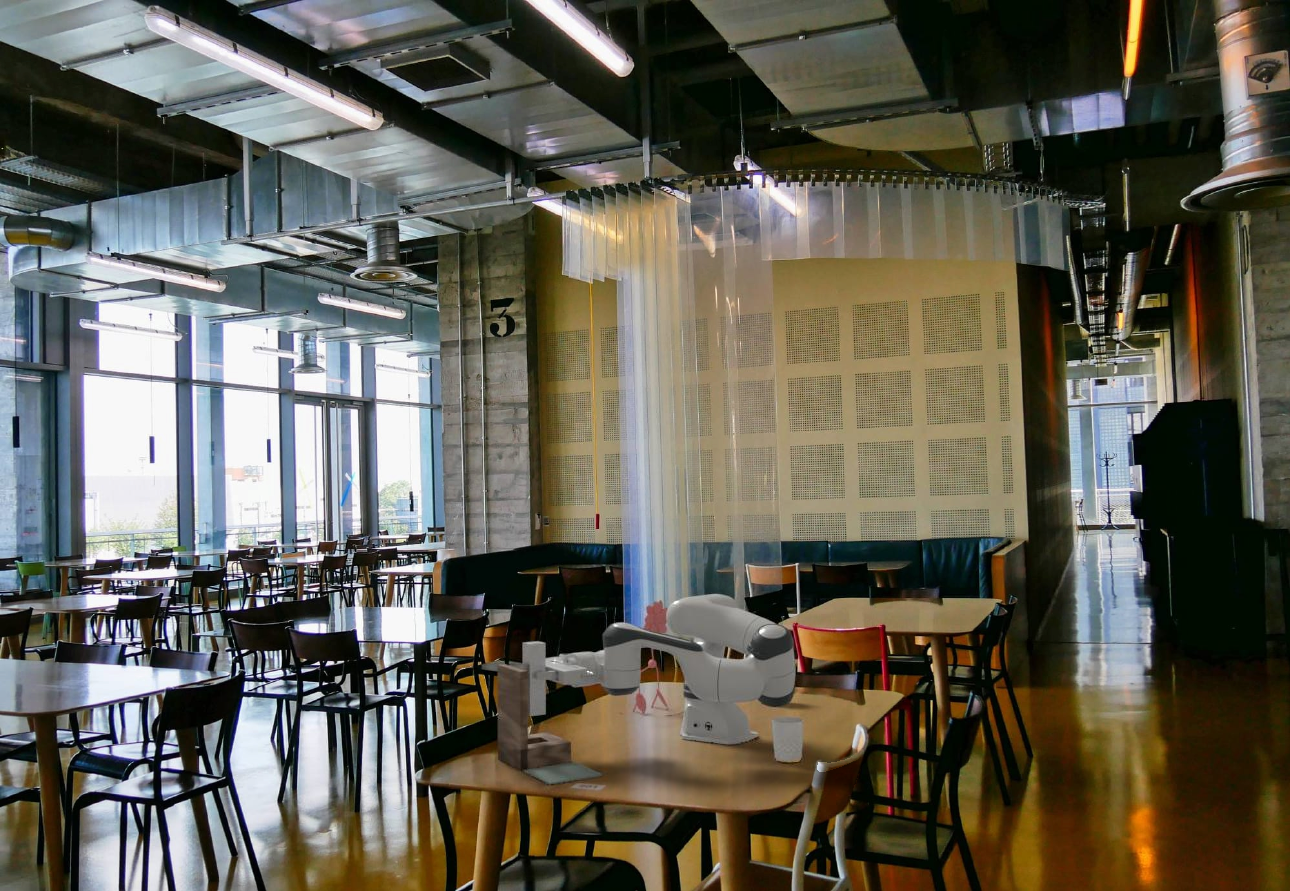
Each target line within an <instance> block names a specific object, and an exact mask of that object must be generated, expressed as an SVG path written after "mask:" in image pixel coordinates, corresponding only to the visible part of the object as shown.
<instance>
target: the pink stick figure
mask: <svg viewBox="0 0 1290 891" xmlns="http://www.w3.org/2000/svg"><path fill="white" fill-rule="evenodd" d="M645 609H646V614H647V615H646V616H645V617H644V626H643V629H647V630H651V631H655V632H659V633H663V634H667V632H668V631H667V630H668V628H667V626H666V624H667V621H666V613H667V609H668V607H664V603H663V600H661V599H659V601H655V600H654V602H653V605H651V604H649V605H647V606H646V608H645ZM622 623H626V622H624V621H623V622H622ZM650 650H651V658H652V659H649V661H648V663H647V664H648V666H647V667H645V668H644V669H642V670H641V673H643V672H645V671H646V670H647V669H649V668H650V669H654V668H655V669H656V675H657V688H656V689H655V692H656V693H655V696H654V699H653V701H652V704H651V705H650V707H651V708H653V707H654V704H655V703H656V700H657V698H659V699H660V701H661V703H662V704H663V705H664V707H666V708H668V704H667V701H666V700H665V698H664V696H663V694H662V693H661V691H660V682H659V680H660V678H659V669H658V667H657V661H656V660H655V656H654V649H653V648H650ZM636 708H638V710H639V711H641V714H642V715H644V714H645V713H646V710H647V701H646V698H645V696H644V695H643V694H642V693H641V686H639V688H638V692H637V693H636V694H635V703H634V707H633V709H632V712H633V713H634V712H635V711H636ZM682 713H683V714H684V711H681V712H679V713H676V714H675V713H674V716H676V715H680V714H682ZM619 714H621V715H622V714H623V713H622V712H619ZM672 716H673V714H669V715H668V717H672Z"/></svg>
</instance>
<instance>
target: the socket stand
mask: <svg viewBox="0 0 1290 891" xmlns="http://www.w3.org/2000/svg"><path fill="white" fill-rule="evenodd" d="M528 718H529V717H528V695H527V671H526V670H523V668H518V667H515V666H512V665H510V664H509V665H508V664H506V663H503V664H501V663H500V664H497V759H498V760H500V761H502V762H503V763H505V764H507V765H509V766H510V767H513V768H515V769H517V770H519V771H524V770H526V769H527V770H528V769H534V768H537V767H539V768H541V767H547V766H549V765H551V766H553V765H559V764H565V763H571V762H572V742H571V741H569V740H567V739H564V738H563V737H559V736H557V735H554V734H552V733H550V732H548V731H547V732H546V731H545V732H538V733H532V734H529V730H528V728H529V725H528V724H529V723H528V722H529V720H528Z"/></svg>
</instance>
